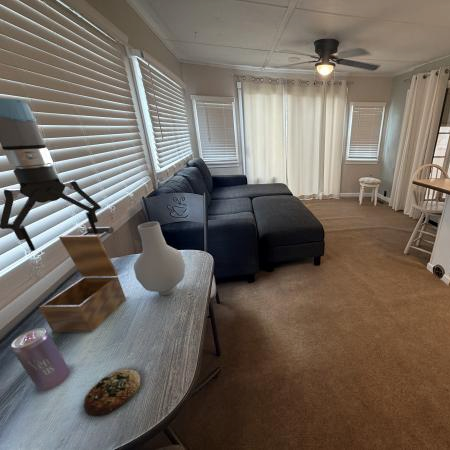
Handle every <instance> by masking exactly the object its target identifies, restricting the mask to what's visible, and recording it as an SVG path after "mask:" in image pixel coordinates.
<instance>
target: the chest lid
mask: <svg viewBox="0 0 450 450" xmlns="http://www.w3.org/2000/svg"><path fill="white" fill-rule="evenodd" d="M95 227H96V229H97V232H98V234H94V233H93V231H92V228H91V226H89V227H87V228H86V231H85V232H84V233H82V234H80V235H59V236H58V238H59V240H60V242H61V243H62V245H63V246H64V248H65V250H66V252H67V254H68V255H69V257H70V259H71V260H72V262H73V263H74V266H75V267H76V269H77V271H78V272H79V273H80V275H81V277H82V278H83V277H98V276H105V277H118V275H119V274H118V272H117V270H116V268H115V266H114V264H113V262H112V260H111V258H110V256H109V254H108V252H107V249H106V248H105V246H104V244H103V242H102V240H101V239H102V238H103V237H105V236H106V235H109V234H110V235H112V234H113V233H114V232H115V228H114V227H112V226H95Z"/></svg>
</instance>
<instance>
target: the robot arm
mask: <svg viewBox="0 0 450 450" xmlns="http://www.w3.org/2000/svg"><path fill="white" fill-rule="evenodd" d="M0 146H1V149H2V150H3V153H4V155H5V157H6V160H7V161H8V163H9V165H10V167H13V168H14V169H13V170H12V171H13V173H14V176H15V178H16V180H17V182H18V184H19V188H15V189H14V188H13V189H10V188H4V189H3V194H4V198H5V200H4V204H3V209H2V212H1V217H0V229H1V230H5V229H6V230H12V231H13V232H14V234H15V236H16V238H17V240H19V241H24V240H25V242H26V243H27V246H28V247H29V250H30V252H34V251H36V247H35V245H34V244H33V241H32V239H31V238H30V235H29V233H28V230H26V227H25V225H22V224H23V222H24V221H25V219H26V218H27V216H28V215H29V213H30V211H31V210H32V209H33V207H34V206H35V204H36V203H41V204H44V203H47V202H55V201H58V200H60V199H62V200H64V201H66V202H68V203H70V204H72V205H75V206H77V207H78V208H80V209H82V210H84V211H86V212H85V216H86V218H87V221H88V223H89V226H90V227H91V228H92V231H93V233H94V234H93V235H99V234H98V232H97V229H96V227H97V226H96V223H98V221H99V219H98V216H97V214H96V211H99V210H101V209H102V206H101V205H100V204H99V203H98V202H97V201H95V200H94V199H93V198H92V197H91V196H90V195H88V194H87V193H86V192H85V191H83V189H81V187H80V186H79V183H78V182H77V181H76V180H73V179H72V180H70V181H67V182H62V181H61V179H60V177H59V174H58V172H57V168H56V167H55V166H54V165H52V164H53V159H52V157H51V155H50V151H49V150H48V148H47V145H46V143H45V140H44V137H43V135H42V132H41V130H40V128H39V124H38V123H37V118H36V117H35V115H34V113H33V112H32V110H31V108H30V105H29V104H28V103H27V102H26V101H24V100H21V99H17V98H5V97H2V98H1V97H0ZM66 188H68V189H70V190H74V191H75V192H76V193H77V194H78V195H80V196H81V197H82V198H83V199H84V200H85V201H87V202H88V203H89V204H90V205H92V206H89V205H87V204H85V203H84V202H82V201H80V200H77V199H75V198H73V197H72V196H70V195H68V194H66V193H64V191H65V189H66ZM20 194H21V195H23V196H25V197H26V198H27V200H26V202H25V203H24V205H22V208H21V209H20V210H19V212H18V214H17V215H16V217H15V218H14V220H13V221H12V222H9V221H10V218H11V213H12V209H13V205H14V199H16V198H18V196H19V195H20Z"/></svg>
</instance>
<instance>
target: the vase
mask: <svg viewBox="0 0 450 450" xmlns="http://www.w3.org/2000/svg"><path fill="white" fill-rule="evenodd" d="M137 230H138V233H139V235H140V239H141V246H142V247H141V248H142V252H141V253H140V255H139V256H138V257H137V259H136V260H135V262H134V263H133V270H134V274H135V279H136V280H137V281H138V282H139V284H140V285H141V286H142V287H143V289H145V291H147V292H152V293H154V292H157V293H158V294H159V295H160V296H167V295H170V294H172V293H174V292H175V291H176V290H177V285H179V284H180V283H181V282H182V281H183V280H184V277H185V273H186V263H185V260H184V257H183V254H182V251H180V250H178V249H177V248H174V247H172V246H171V245H168V244H167V242H166V240H165V237H164V235H163V232H162V228H161V224H160V222H158V221H147V222H144V223H141V224H139V225H138V226H137Z"/></svg>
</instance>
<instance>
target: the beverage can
mask: <svg viewBox="0 0 450 450" xmlns="http://www.w3.org/2000/svg"><path fill="white" fill-rule="evenodd" d="M10 347H11V351H12V352H13V354H14V356H15V357H16V359H17V360H18V361H19V363H20V364H21V366H22V368H23V369H24V370H25V372H26V374H27V375H28V377H29V378H30V379H31V381H32V383H33V384H34V386H35V387H36V388H37V390H38V391H41V392H46V391H49V390H51V389H54V388H56V387H57V386H59V385H60V384H62V383H63V382H64V381H65V380H66V379H67V378H68V377H69V376H70V373H71V370H70V368H69V366H68V364H67V363H66V361H65V359H64V357H63V356H62V354H61V352H60V350H59V349H58V347H57V345H56V343H55V341H54V340H53V338H52V336H51V334H50V332H48V331H47V329H45V328H41V327H40V328H34V329H32V330H29V331H26V332H24V333H22V334H21V335H19V336H18V337H16V338H15V339H14V340H13V341H12V342H11V344H10Z"/></svg>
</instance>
